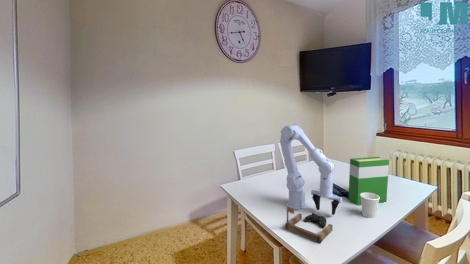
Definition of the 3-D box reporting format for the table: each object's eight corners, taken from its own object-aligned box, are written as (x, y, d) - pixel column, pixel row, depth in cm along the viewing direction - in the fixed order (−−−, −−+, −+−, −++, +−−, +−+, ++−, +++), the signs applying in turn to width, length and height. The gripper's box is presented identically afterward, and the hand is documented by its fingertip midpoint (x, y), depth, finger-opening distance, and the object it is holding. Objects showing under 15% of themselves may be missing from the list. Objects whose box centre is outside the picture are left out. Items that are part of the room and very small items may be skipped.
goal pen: (298, 218, 111) (299, 197, 110) (332, 230, 100) (333, 207, 99) (285, 228, 102) (285, 206, 101) (320, 243, 91) (320, 218, 90)
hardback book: (376, 197, 133) (378, 156, 130) (386, 202, 126) (389, 159, 123) (348, 199, 130) (350, 158, 127) (357, 205, 123) (359, 162, 120)
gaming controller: (303, 220, 108) (307, 208, 110) (306, 224, 111) (311, 213, 113) (323, 228, 101) (327, 215, 103) (326, 232, 104) (330, 220, 106)
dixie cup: (381, 220, 108) (383, 199, 106) (362, 218, 109) (363, 198, 108) (374, 211, 116) (375, 192, 114) (356, 210, 117) (357, 191, 116)
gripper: (344, 186, 110) (343, 213, 112) (315, 180, 120) (315, 204, 122) (339, 191, 105) (338, 219, 107) (309, 183, 115) (308, 209, 117)
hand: (325, 211), depth 114 cm, fingers open, 7 cm apart
